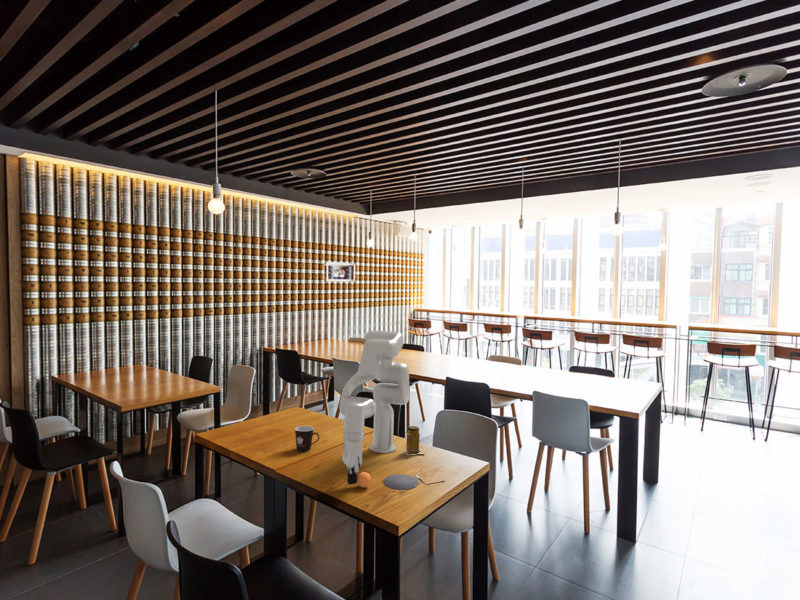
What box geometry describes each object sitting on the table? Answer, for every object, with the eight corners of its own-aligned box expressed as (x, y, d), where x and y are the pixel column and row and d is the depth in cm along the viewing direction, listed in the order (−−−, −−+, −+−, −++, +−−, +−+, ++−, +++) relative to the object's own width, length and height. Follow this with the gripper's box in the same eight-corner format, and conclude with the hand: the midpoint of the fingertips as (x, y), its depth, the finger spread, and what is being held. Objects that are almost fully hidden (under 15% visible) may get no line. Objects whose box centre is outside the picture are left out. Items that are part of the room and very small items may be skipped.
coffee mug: (290, 449, 203) (291, 427, 203) (306, 445, 209) (307, 424, 209) (304, 456, 194) (305, 434, 194) (320, 452, 200) (321, 430, 200)
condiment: (404, 450, 207) (405, 425, 207) (422, 450, 208) (423, 425, 208) (406, 455, 200) (407, 429, 200) (424, 455, 201) (425, 429, 201)
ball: (351, 479, 166) (359, 467, 166) (363, 485, 168) (370, 472, 169) (356, 487, 161) (364, 474, 161) (367, 492, 163) (375, 479, 164)
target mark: (377, 477, 174) (377, 477, 174) (408, 472, 180) (408, 472, 180) (392, 492, 161) (392, 491, 161) (425, 486, 167) (425, 485, 167)
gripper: (338, 430, 170) (336, 477, 169) (350, 441, 156) (348, 492, 156) (356, 428, 173) (354, 474, 172) (369, 439, 159) (367, 489, 159)
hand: (351, 483), depth 164 cm, fingers closed
